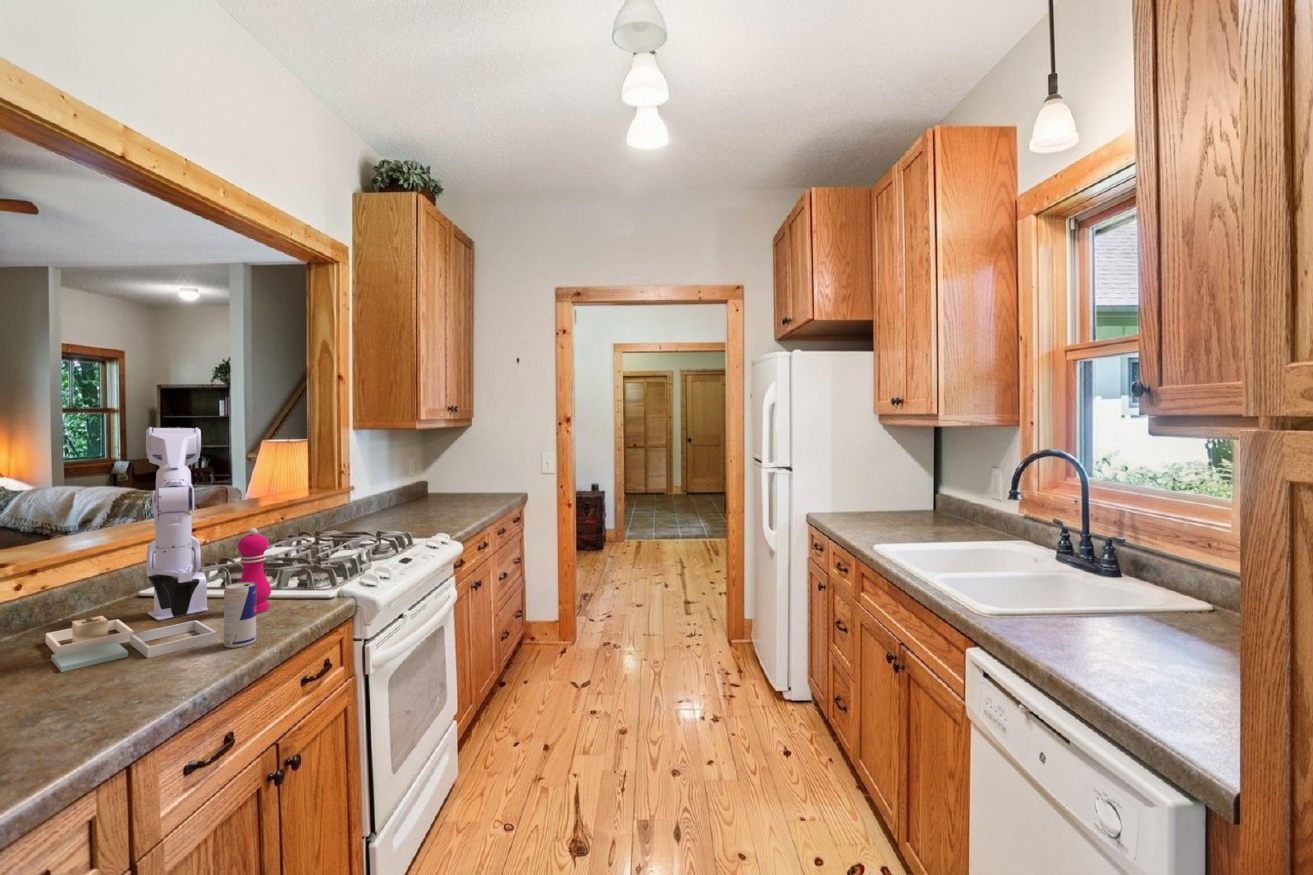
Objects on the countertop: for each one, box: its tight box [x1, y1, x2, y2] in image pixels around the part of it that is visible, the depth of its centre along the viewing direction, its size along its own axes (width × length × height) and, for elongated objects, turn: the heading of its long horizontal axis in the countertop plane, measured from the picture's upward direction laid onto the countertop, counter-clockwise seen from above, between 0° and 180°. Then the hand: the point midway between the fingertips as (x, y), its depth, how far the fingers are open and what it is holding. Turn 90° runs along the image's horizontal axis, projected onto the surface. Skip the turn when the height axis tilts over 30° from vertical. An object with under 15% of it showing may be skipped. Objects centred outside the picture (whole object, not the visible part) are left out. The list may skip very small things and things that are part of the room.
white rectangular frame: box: [129, 619, 218, 659], centre depth 118 cm, size 11×12×2 cm
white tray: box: [45, 619, 135, 654], centre depth 118 cm, size 11×12×2 cm
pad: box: [51, 641, 129, 673], centre depth 110 cm, size 9×9×1 cm
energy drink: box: [223, 582, 257, 649], centre depth 118 cm, size 5×5×12 cm
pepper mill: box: [237, 527, 272, 614], centre depth 139 cm, size 7×7×20 cm
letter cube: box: [71, 615, 109, 643], centre depth 118 cm, size 4×4×5 cm
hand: (173, 611), depth 118 cm, fingers open, 7 cm apart
